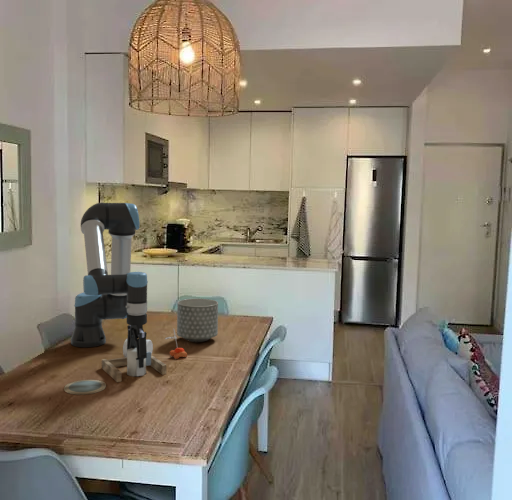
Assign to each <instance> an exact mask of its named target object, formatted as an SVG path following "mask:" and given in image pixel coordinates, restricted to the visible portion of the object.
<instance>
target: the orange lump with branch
mask: <svg viewBox="0 0 512 500" xmlns="http://www.w3.org/2000/svg"><path fill="white" fill-rule="evenodd" d="M172 329H173V330H172V331H173V335H174V336H168V337H165V339H164V340H169V339H174V340H177V338H178V337H177V334H176V331H175V328H172ZM175 344H176V345H178V343H177V341H175ZM169 355H170V357H172V358H173V359H175V360H178V359H179V358H186V357H187V356H188V353H187V351H185V349H184V348H183V347H178V346H176V348H175V349H174V350H173V349H171V350H170V351H169Z"/></svg>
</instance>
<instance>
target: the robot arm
mask: <svg viewBox="0 0 512 500" xmlns="http://www.w3.org/2000/svg"><path fill="white" fill-rule="evenodd" d="M139 229H140V215H139V210H138V207H137V205H136V204H135V203H129V202H97V203H94V204H92V205H90V206H89V208H87V209H86V211H85V212H84V213H83V215H82V217H81V221H80V231H81V233H82V234H83V238H84V248H85V259H86V269H87V275H84V276H83V280H82V281H83V282H82V284H83V285H82V287H83V288H82V289H83V292H81V293H79V294H76V295H75V298H74V305H73V306H74V328H73V332H72V334H71V338H70V344H71V345H72V346H73V347H77V348H95V347H99V346H102V345H105V344H106V342H107V341H106V340H107V339H106V338H107V337H106V334H105V332H104V328H103V324H102V323H103V322H102V321H103V320H105V321H106V320H119V319H122V320H124V319H126V324H127V338H126V339H127V350H128V349H130V348H136V349H137V357H138V358H136V376H135V377H141V376H145V374H144V359H145V358H147V350H146V340H147V333H148V332H146V331H144V325H145V324H147V323H148V315H147V313H148V282H149V280H148V274H147V273H146V272H142V271H131V262H132V260H131V259H132V239H133V237H134V236H135V235H136V231H138V230H139ZM105 230H108V234H109V236H111V259H110V274H109V271H108V263H107V257H106V255H107V254H106V248H105V240H104V232H105Z"/></svg>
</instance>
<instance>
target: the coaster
mask: <svg viewBox="0 0 512 500" xmlns="http://www.w3.org/2000/svg"><path fill="white" fill-rule="evenodd" d="M106 388H107V384H106V382H104V381H103V380H98V379H82V380H77V381H76V380H75V381H72V382H69V383H67V384H66V385H65V386H64V387H63V391H64V393H65V392H66V393H67V394H70V395H77V396H85V395H92V394H96V393H99V392H102V391H103V390H105V389H106Z"/></svg>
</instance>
